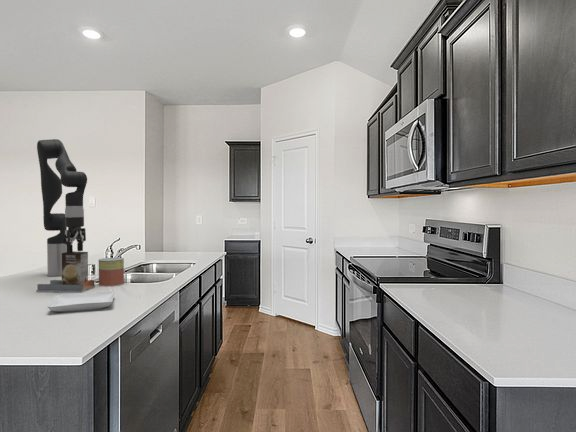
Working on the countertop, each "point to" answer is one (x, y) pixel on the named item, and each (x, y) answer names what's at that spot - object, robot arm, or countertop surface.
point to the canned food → (111, 271)
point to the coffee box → (74, 267)
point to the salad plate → (81, 301)
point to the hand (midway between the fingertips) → (75, 252)
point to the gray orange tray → (65, 287)
